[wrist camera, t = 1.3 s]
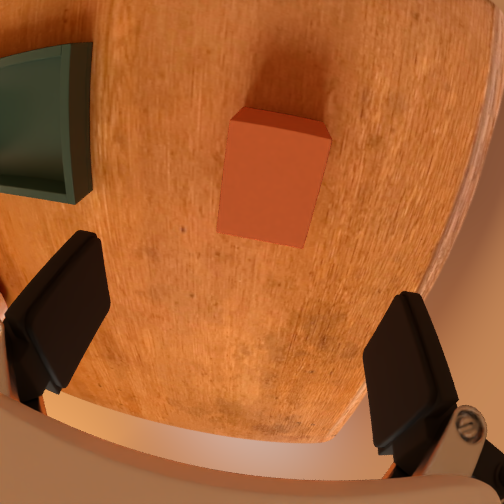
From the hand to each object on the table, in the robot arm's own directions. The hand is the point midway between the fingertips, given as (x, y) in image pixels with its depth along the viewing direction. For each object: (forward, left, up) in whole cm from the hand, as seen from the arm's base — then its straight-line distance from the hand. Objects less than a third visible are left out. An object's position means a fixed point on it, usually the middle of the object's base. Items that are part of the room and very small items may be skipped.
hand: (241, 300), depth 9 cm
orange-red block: (0, 0, -13) cm, 13 cm away
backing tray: (+16, -17, -13) cm, 26 cm away
